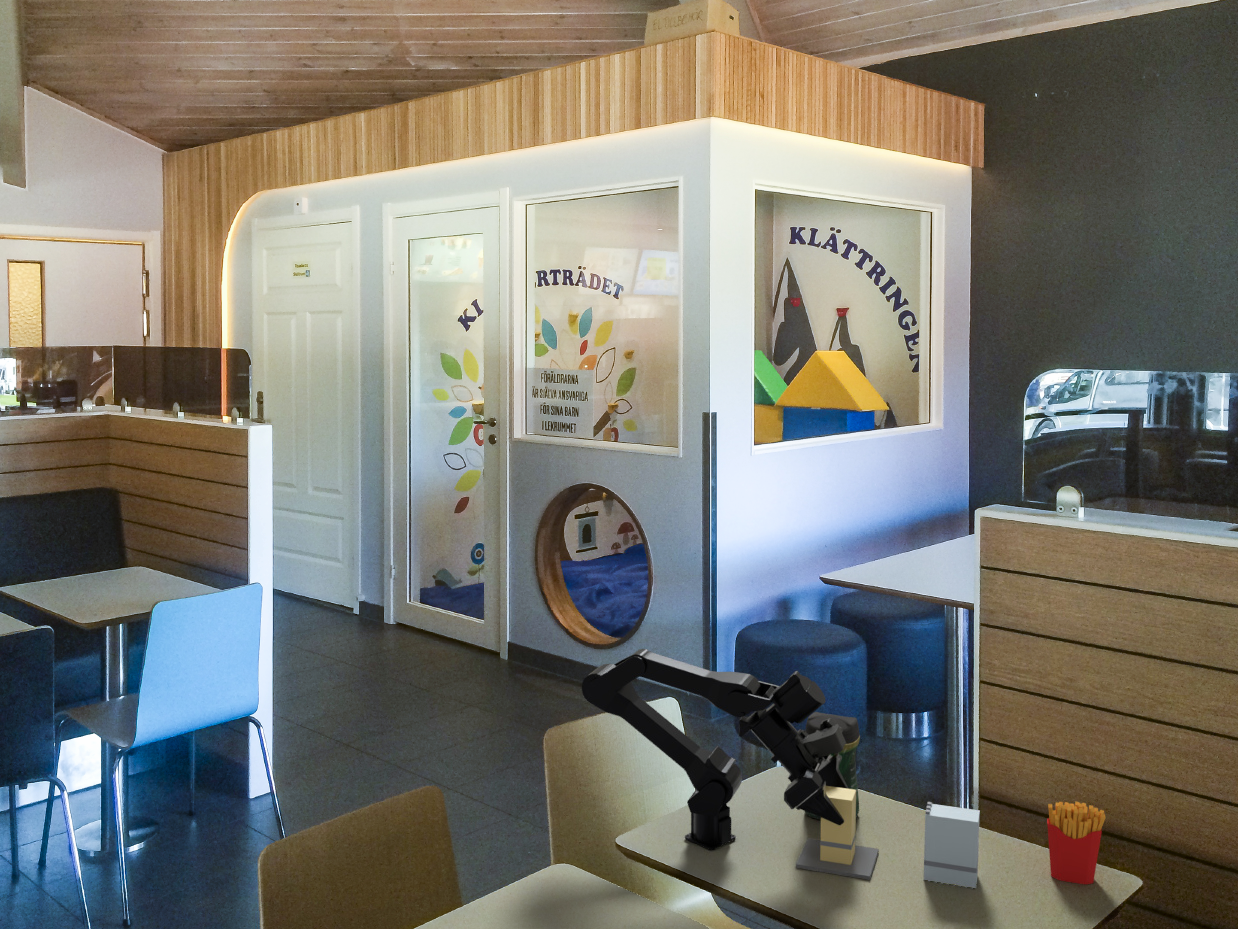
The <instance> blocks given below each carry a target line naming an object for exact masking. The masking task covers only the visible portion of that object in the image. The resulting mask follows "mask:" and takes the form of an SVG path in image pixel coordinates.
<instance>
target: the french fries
mask: <svg viewBox="0 0 1238 929" xmlns="http://www.w3.org/2000/svg"><path fill="white" fill-rule="evenodd" d="M1074 802H1075V803H1069V802H1067V801H1058V802H1055V809H1053V804H1052V803H1048V804H1047V805H1048V806H1047V807H1048V815H1049V817H1048V818H1046V819H1047V821H1046V822H1047V824H1046V825H1047V841H1048V853H1049V867H1050V877H1052V878H1054V879H1055V880H1058V881H1061V882H1066V883H1067V882H1068V883H1073V884H1080V885H1091V884H1094V880H1095V874H1096V869H1097V863H1098V857H1099V852H1100V845H1101V838H1102V834H1103V831H1102V830H1103V829H1102V828H1103V825H1104V822H1105V820H1106V819H1107V818H1106V814H1105V810H1103V809H1100V810H1099V808H1098V807H1094V805H1090V804H1089V806H1087V803H1086V802H1082V803H1081V802H1079V801H1074Z"/></svg>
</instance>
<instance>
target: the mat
mask: <svg viewBox="0 0 1238 929" xmlns="http://www.w3.org/2000/svg"><path fill="white" fill-rule="evenodd" d="M820 840H821V839H820V838H819V839H816V838H811V837H807V839H806V841H805V843H804V845H803V847H802V850H801V852H800V853H799V856H798V858H797V861H796V863H795V868H796V869H801V870H802V869H803V870H806V871H807V870H809V871H815V872H820V873H827V874H833V875H839V876H844V877H845V876H846V877H851V878H856V879H863V880H870V881H871V878H872V875H873V871H874V868H875V866H876V861H877V858H878V856H879V853H878V852H879V850H880V848H875V847H869V846H863V845H857V844H855V854H854V857H853V860H852V863H851V865H848V864H841V863H835V862H829V861H822V860H820V846H821V845H820Z"/></svg>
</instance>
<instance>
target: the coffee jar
mask: <svg viewBox="0 0 1238 929" xmlns="http://www.w3.org/2000/svg"><path fill="white" fill-rule="evenodd" d="M806 719H807V720H806V724H805V729H804V730H805V731H806V733H807V734H809V735H810V734H813V733H815V732H816V731H817V730H818V731H820V724H821V722H822V721H823V720H826V719H831V720H832V721H833V722H834V723H835V724H838V725H839V727H841V728H842V729H843V732H842V734H843V737H844V739H845V741H846V744H845V745H844V747H843V748H844V749H843V750H842V751H841V752H839V758H838V768H839V770H840V773H841V775H842V777H843V779H844V781H845V782H846V784H847V786H848V788H849V789H854V790H856V818H857V817H858V815H859V812H860V800H859V791H858V790H859V789H858V788H859V787H858V780H857V779H858V778H857V768H856V766H857V763H856V755H857V754H856V753H857V748H858V747H859V746H858V745H859V743H860V739H861V735H860V729H859V723H858V719H857V717H854V716H852V717H851V716H844V715H843V716H842V715H837V714H831V713H825V712H824V713H823V712H818V711H814V712H813V713H812V714H811V715H810V716H808V717H807V718H806ZM830 755H831V756H832V757H833V756H834V755H835V754H834V755H833V754H830ZM804 813H805V814H806V815H807V816H808V817H811V818H812V819H813V818H814V819H817V820H821V817H819V816H817V815H814V814H812V813H809V812H806V811H804Z"/></svg>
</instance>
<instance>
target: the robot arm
mask: <svg viewBox="0 0 1238 929" xmlns="http://www.w3.org/2000/svg"><path fill="white" fill-rule="evenodd" d="M638 678H643V679H646V680H650V681H653V682H657V683H659V684H662V685H665V686H667V687H668V686H669V687H670V688H674V689H678V690H681V691H684V692H687V693H690V694H693V695H696V696H700V697H702V698H704V699H705V700H707V701H708V702H709V703H711V704H712V705H713V706H714V707H715V708H717V709H719V710H721V711H722V712H725V713H727V714H729V715H731V716H732V717H736V718H739V719H738V723H739V724H738V726H739V729H738V730H739V731H738V736H739V737H740V738H742V737H744V736H745V735H746V734H747V733H749V732H750V731H751V732H752V733H753V735H754V736H755V737H756V738H757V739H758V740H759V741H760V743H762V744H763V746H765V748H766V750H768V751H769V753H771V755H772V756H771V757H770V760H771V761H772V762H773V764H776V763H778V762H779V763H780V765H781V766H782V767H783V768H784V769H785V770H786V772H788V774H789V775H788V776H787V779H788V781H790V783H789V784H788V785H787V787H786V789H785V790H784V791H783V792H784V793H783V802H784V803H785V804H786V805H787V806H788V807H789V809H790V810H794V809H796V810H797V811H799V810H802V811H804V812H805V811H806V812H809V813H812V814H814V815H817V816H819V817H821V818H824V819H826V820H828V821H830V822H833V823H835V824H837V825H842V824H843V823H844V819H843V818H842V816H841V814H840V813H839V811H838V810H837V809H836V807H835V806H834V804H833V803H832V802H831V800H830V799H829V797H828V796H827V795H826V786H831V787H839V788H846V789H849V788H848V786H847V784H846V782H845V781H844V779H843V777H842V775H841V773H840V770H839V768H838V758H839V752H841V751H842V750H843V749H844V748H843V747H844V745H845V744H846V741H845V739H844V737H843V734H842V732H843V729H842V728H841V727H839V725H838V724H835V723H834V722H833V721H832V720H831V719H826V720H823V721H822V722H821V724H820V731H818V730H817V731H816V732H815V733H813V734H810V735H809V734H807V733H806V731H805V729H802V728H800V729H798V730H797V729H796V728H795V727H794V725H793V724H794V723H795V724H801V723H803V722H804V721H806V719H808V717H809V716H810V715H811V714H813V713H814V712H817V710H818V709H819V708H821V706H823V705H824V704H825V703H826V697H825V694H824V692H823V690H822V689H821V687H820V686H819V685H818V684H817V683H816V682H815V681H814V680H811V679H810V678H809V677H807V676H805V675H802V674H801V673H800V672H799V671H798V670H796V671H794V672H793V673H792V674H791V675H790V676H789V678H788V679H786V681H785V682H783V684H781V685H776V684H772V683H769V682H764V681H761V680H759V679H758V678H757V677H756V676H754V675H752V674H750V673H745V672H744V673H743V672H737V671H736V672H735V671H715V670H713V671H712V670H709V669H705V668H702V667H699V666H696V665H692V664H691V663H690V664H689V663H687V662H684V661H681V660H677V659H673V658H670V657H667V656H663V655H661V654H658V653H655V652H652V651H650V650H649V649H645V648H640V649H638V650H635V652H634V653H633V654H630V655H629V656H627V657H624V658H623V659H621V660H619V661H618V662H615V663H614V664H613V663H604V664H601V665H599V666H598V667H596V668H595V669H594V670H593V671H592V672H590V673H589V674H588V675H587V676H586V677H584V679H583V680H582V683H581V692H582V693H581V694H582V696H583V699H584V700H585V701H586V702H587V703H589V704H590V705H591V706H593V707H595V708H597V709H598V710H600V711H602V712H604V713H607V714H610V715H614V716H617V717H619V718H621V719H623V721H625V722H626V723H628V724H629V725H630V727H632V728H634V730H636V731H637V732H638V733H640V734H641V735H642V736H643V737H645V739H647V740H648V741H649V742H650V743H652V744H653V745H654V746H655V747H656V748H657V749H659V750H660V751H661V752H662V753H663V754H665V755H666V756H667V757H668V758H670V759H671V760H672V761H673V762H675V763H676V764H677V765H678V766H679V767H680V768H682V769H683V770H684V772H685V773H686V775H687V777H688V780H689V781H690V782H691V785H692V787H693V788H694V789H695V790H694V792H692V794H691V795H690V797H689V798H688V799H687V801H686V802H687V806H688V808H689V811H690V832H689V833H687V834H685V835H684V840H687V841H689V842H691V843H694V844H695V845H698V846H700V847H703V848H704V849H706V850H710V851H714V850H717V849H719V848H721V847H722V846H725V845H727V844H728V843H730V842H732V841H734V840H736V839H737V836H736V835H735V834H734V833H732V817H731V808H730V806H728V804H729V802H730V801H731V800H732V799H733V798H734V796H735V794H736V792H737V791H738V789H739V788H740V786H741V784H742V781H743V775H742V770H741V767H739V766H738V765H737V763H736V761H737V759H736V758H733V757H731V756H730V755H728V754H727V753H726V752H725V750H723V749H722V748H721V747H720V746H717V745H716V746H715V748H714V749H713V750H712V751H711V750H709V749H705V748H703V747H701V746H700V745H698V744H697V743H696V742H694V740H693V739H691V738H690V737H688V736H687V735H686V734H685V733H684V732H683V731H681V730H680V729H678V727H677V726H675V725H674V724H673V723H671V721H669V720H668V719H667V718H666V717H664V716H663V715H662V714H661V713H660V712H658V711H657V710H656V709H654V708H653V707H652V706H651V705H650V704H648V703H647V702H646V701H645V700H644V699H643V698H641V697H640V695H638V693H637V691H636V689H635V686H634V685H633V683H632V681H634V680H636V679H638ZM767 707H768V708H767ZM752 712H753V713H752ZM749 714H751V715H749ZM748 715H749V716H748ZM830 754H833V755H834V754H835V755H834V756H833V757H832V756H831V755H830Z"/></svg>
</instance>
